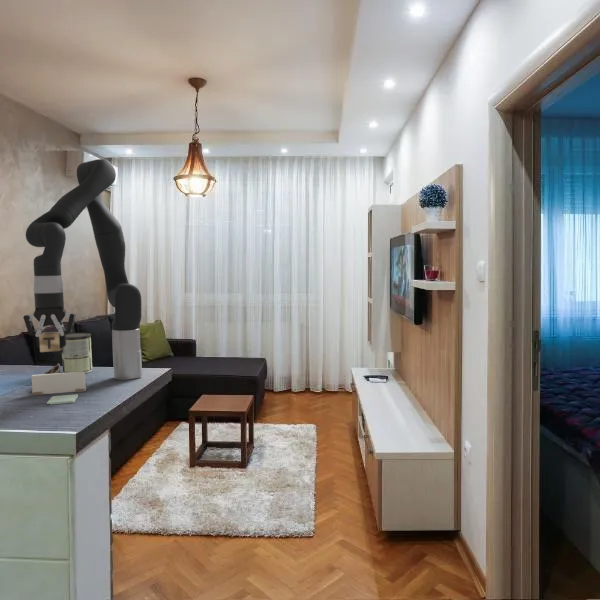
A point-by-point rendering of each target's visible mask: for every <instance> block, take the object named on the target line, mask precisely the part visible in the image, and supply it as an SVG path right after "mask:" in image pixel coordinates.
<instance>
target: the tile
mask: <svg viewBox="0 0 600 600" xmlns="http://www.w3.org/2000/svg"><path fill="white" fill-rule="evenodd" d="M78 397H79V394H65V395H53V396H51V397H50V399H49V400H48V401H47V402H46V405H47V404H50V405H63V404H71V403H73V404H74V403H75V401H76V400H77V399H78Z"/></svg>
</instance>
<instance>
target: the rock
mask: <svg viewBox="0 0 600 600" xmlns="http://www.w3.org/2000/svg"><path fill="white" fill-rule="evenodd" d="M55 373H61V365H60V363H59V362H58V363H57V364H56V365H54V366H52V367H51V368H50V369H48V370H47V371H45V372H43V374H55Z"/></svg>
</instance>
